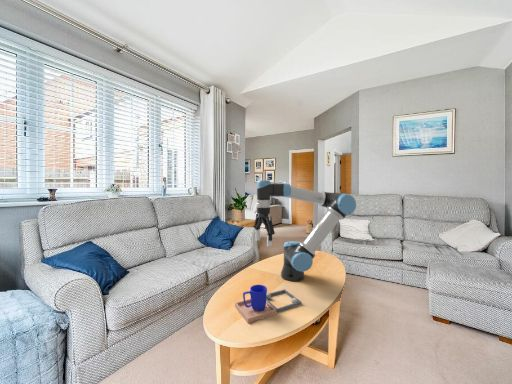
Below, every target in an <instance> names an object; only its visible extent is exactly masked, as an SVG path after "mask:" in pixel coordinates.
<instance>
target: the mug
mask: <svg viewBox="0 0 512 384" xmlns="http://www.w3.org/2000/svg"><path fill="white" fill-rule="evenodd" d="M267 293H268V287H267V286H266V285H263V284H254V285H251V286H250V288H249V290H248V291H247V290H246V291H244V292H243V293H242V297H243V298H242V299H243V300H244V304H245V306H246V307H248V308H249V307H251V306H252V308H253V309H254V310H256V311H262V310H264V309H265V307H266V296H267ZM247 294H249V295H250V298H251V305H246V302H245V300H246V295H247Z"/></svg>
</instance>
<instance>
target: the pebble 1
mask: <svg viewBox="0 0 512 384" xmlns="http://www.w3.org/2000/svg"><path fill="white" fill-rule="evenodd" d="M270 293H271V292H267V296H266V299H268V300H270V299H271V297H272V296H271V295H270Z"/></svg>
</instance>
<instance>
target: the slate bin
mask: <svg viewBox="0 0 512 384" xmlns="http://www.w3.org/2000/svg"><path fill="white" fill-rule="evenodd" d="M269 293H270V295H271V297H273V296H277V295H281V294H285V295H287V296H289V297H290V298H291V299H292V298H296V299H297V300H298V302H296V303H290V304H287V305H284V306H280V307H276V306H275V304H273V303H272V302H271V301H270V299H266V301H267V302H268V303H269V304H270V305H272V306H273V307H274V308H275V309H276V313H280V312H283V311H285V310H288V309H292V308H293V307H297V306H301V305H302V301H301V300H300V299H298V298H297V297H296V296H295V295H293V294H292V293H290V292H289V291H288V290H286V289H284V288H283V289H279V290H276V291H273V292H269Z"/></svg>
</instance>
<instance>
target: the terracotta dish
mask: <svg viewBox="0 0 512 384" xmlns="http://www.w3.org/2000/svg"><path fill="white" fill-rule="evenodd" d="M245 302H246V305H251V297H250V298H247V299H245ZM234 307H235V309H236V310H237V311H238V313H239V314H240V315H241V317H243V319H244V320H245V322H246V323H247V324H249V323H252V322H256V321H259V320H261V319H265V318H268V317H271V316H275V315H277V312H276V309H275V308H274V307H273V306H272V305H270V304H269V303H268V302H267V301H266V307H265V309H264V310H262V311H256V310H254V309H253V308H252V306H251V307H249V308H248V307H246V306H245V304H244V299H243V300H240V301H239V300H238V301H236V302H234Z"/></svg>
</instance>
